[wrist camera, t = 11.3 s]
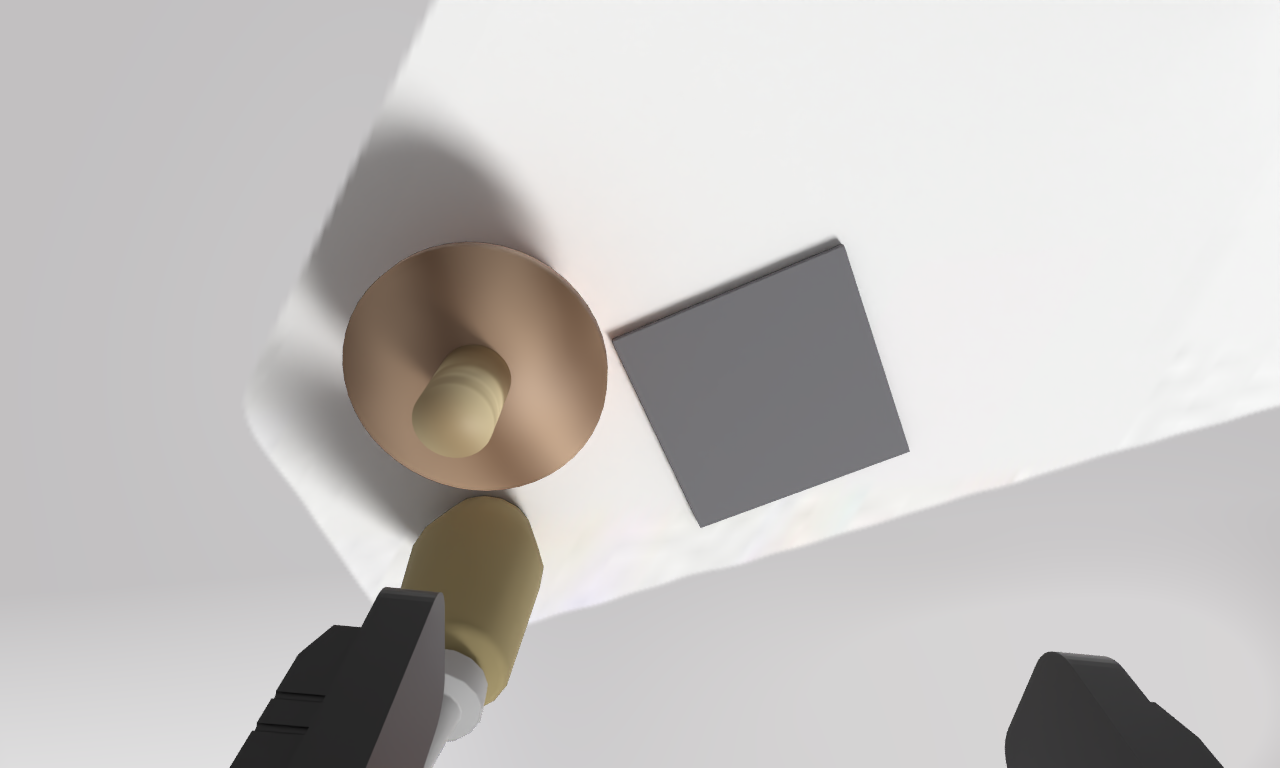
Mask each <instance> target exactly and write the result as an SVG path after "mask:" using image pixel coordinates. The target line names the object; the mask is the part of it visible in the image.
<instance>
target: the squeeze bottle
mask: <svg viewBox="0 0 1280 768" xmlns="http://www.w3.org/2000/svg"><path fill="white" fill-rule="evenodd" d="M543 568H544V567H543V563H542V560H541V556H540V553H539V549H538V546H537V543H536V540H535V537H534V534H533V532H532V529H531V526H530V523H529V520H528V519H527V518H526V516H525V515H524V514H523V513H522V512H521V510H520V509H519V508H518V507H516V506H515V505H513V504H511V503H509V502H507V501H506V500H504V499H501V498H496V497H490V496H479V497H473V498H467V499H465V500H464V501H462V502H460V503H459V504H457V505H455V506H454V507H452V508H451V509H449V510H448V511H447V512H445V513H444V514H443V515H441V516H440V517H439V518H437V519H436V520H435V521H433V522H432V523H431V524H429V525H428V526H427V527H425V529H424V530H423V532H422V533H421V535H420V536H419V538H418V539H417V541H416V542H415V544H414V545H413V548H412V551H411V555H410V558H409V561H408V565H407V568H406V572H405V575H404V579H403V582H402V586H401V589H411V590H422V591H433V592H441V593H443V595H444V601H445V684H444V694H443V701H442V707H441V712H440V716H439V721H438V725H437V728H436V731H435V735H434V738H433V741H432V744H431V747H430V750H429V753H428V756H427V759H426V762H425V765H424V768H432V767H433V765H434V764H435V762H436V760H437V758H438V756H439V755H440V753H441V751H442V749H443V747H444V746H445V744H446V742H449V741H455V740H457V739H459V738H461V737H463V736H465V735H467V734H469V733H471V732H472V731H473V729H474V728H475V727H476V726H477V724H478V723H479V722H480V719H481V715H482V711H483V707H484V706H485V705H487V704H488V703H490V702H492V701H494V700H495V699H496V698H497V697H498V695H499V694H500V693H501V692H502V690H503V689H504V688H505V687H506V686H507V683H508V680H509V677H510V674H511V671H512V668H513V665H514V662H515V659H516V656H517V653H518V650H519V647H520V644H521V642H522V639H523V636H524V633H525V630H526V627H527V624H528V621H529V618H530V615H531V612H532V609H533V606H534V603H535V600H536V597H537V594H538V591H539V588H540V583H541V578H542V573H543Z"/></svg>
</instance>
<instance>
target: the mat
mask: <svg viewBox="0 0 1280 768" xmlns="http://www.w3.org/2000/svg"><path fill="white" fill-rule="evenodd" d="M612 342H613V344H614V347H615V349H616V351H617V353H618V355H619V357H620V359H621V361H622V363H623V366H624V368H625V370H626V372H627V374H628V376H629V378H630V380H631V382H632V385H633V387H634V389H635V391H636V393H637V395H638V397H639V399H640V401H641V403H642V406H643V408H644V410H645V412H646V414H647V416H648V418H649V420H650V422H651V425H652V427H653V429H654V431H655V433H656V435H657V437H658V439H659V441H660V444H661V446H662V448H663V450H664V452H665V454H666V456H667V458H668V460H669V463H670V465H671V467H672V469H673V471H674V473H675V475H676V477H677V479H678V481H679V484H680V486H681V488H682V490H683V492H684V494H685V496H686V498H687V500H688V503H689V505H690V507H691V509H692V511H693V513H694V515H695V517H696V519H697V522H698V524H699V526H700V528H702V527H705V526H707V525H710V524H713V523H716V522H718V521H721V520H724V519H727V518H729V517H732V516H735V515H737V514H740V513H743V512H746V511H748V510H751V509H754V508H757V507H759V506H762V505H765V504H768V503H770V502H773V501H776V500H778V499H781V498H784V497H787V496H789V495H792V494H795V493H798V492H800V491H803V490H806V489H809V488H811V487H814V486H817V485H819V484H822V483H825V482H828V481H830V480H833V479H836V478H839V477H841V476H844V475H847V474H850V473H852V472H855V471H858V470H861V469H863V468H866V467H869V466H871V465H874V464H877V463H880V462H882V461H885V460H888V459H891V458H893V457H896V456H899V455H902V454H904V453H907V452H910V451H909V447H908V444H907V441H906V438H905V435H904V432H903V429H902V425H901V422H900V419H899V416H898V413H897V410H896V407H895V404H894V400H893V397H892V394H891V391H890V388H889V385H888V382H887V378H886V375H885V372H884V369H883V366H882V363H881V360H880V356H879V353H878V350H877V347H876V344H875V341H874V338H873V335H872V331H871V328H870V325H869V322H868V319H867V316H866V313H865V309H864V306H863V303H862V300H861V297H860V294H859V291H858V288H857V284H856V281H855V278H854V275H853V272H852V269H851V266H850V262H849V259H848V256H847V253H846V250H845V247H844V245H842V244H841V245H838V246H836V247H834V248H831V249H829V250H826V251H824V252H822V253H819V254H817V255H814V256H812V257H809V258H807V259H805V260H802V261H800V262H797V263H795V264H793V265H790V266H788V267H785V268H783V269H781V270H778V271H776V272H773V273H771V274H768V275H766V276H764V277H761V278H759V279H756V280H754V281H752V282H749V283H747V284H744V285H742V286H739V287H737V288H735V289H732V290H730V291H727V292H725V293H723V294H720V295H718V296H715V297H713V298H711V299H708V300H706V301H703V302H701V303H698V304H696V305H694V306H691V307H689V308H686V309H684V310H682V311H679V312H677V313H674V314H672V315H670V316H667V317H665V318H662V319H660V320H657V321H655V322H653V323H650V324H648V325H645V326H643V327H641V328H638V329H636V330H633V331H631V332H628V333H626V334H624V335H621V336H619V337H616V338H614V339H612Z"/></svg>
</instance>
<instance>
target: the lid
mask: <svg viewBox="0 0 1280 768" xmlns="http://www.w3.org/2000/svg"><path fill="white" fill-rule="evenodd" d="M607 370H608V365H607V356H606V349H605V345H604V341H603V337H602V334H601V331H600V329H599V326H598V324H597V321H596V319H595V317H594V316H593V314H592V312H591V310H590V308H589V307H588V305H587V304H586V302H585V301H584V300H583V298H582V297H581V296H580V294H579V293H578V292H577V291H576V290H575V289H574V288H573V287H572V286H571V284H570V283H569V282H568V281H567V280H566V279H564V278H563V277H562V276H561V275H559V274H558V273H557V272H556V271H554V270H553V269H552V268H550V267H549V266H547V265H546V264H544V263H542V262H541V261H539V260H537V259H536V258H533V257H531V256H529V255H527V254H525V253H522V252H520V251H517V250H514V249H511V248H508V247H504V246H500V245H495V244H489V243H480V242H459V243H448V244H444V245H439V246H434V247H431V248H428V249H425V250H423V251H420V252H417V253H415V254H413V255H411V256H409V257H407V258H406V259H404V260H402V261H400V262H399V263H398V264H396V265H395V266H394V267H392V268H391V269H390V270H388V271H387V272H386V273H384V274H383V275H382V276H381V277H379V278H378V279H377V280H376V281H375V282H374V283H373V284H372V285H371V286H370V287H369V288H368V290H367V291H366V292H365V294H364V295H363V296H362V298H361V299H360V301H359V302H358V304H357V306H356V308H355V310H354V312H353V313H352V315H351V317H350V321H349V324H348V327H347V330H346V333H345V339H344V344H343V373H344V381H345V384H346V388H347V392H348V396H349V398H350V401H351V403H352V405H353V408H354V410H355V412H356V414H357V416H358V418H359V419H360V421H361V423H362V425H363V426H364V427H365V429H366V430H367V431H368V433H369V434H370V435H371V437H372V438H373V439H374V440H375V441H376V442H377V443H378V444H379V446H380V447H381V448H382V449H383V450H384V451H385V452H387V453H388V454H389V455H390V456H391V457H393V458H394V459H395V460H396V461H398V462H399V463H401V464H402V465H404V466H405V467H407V468H408V469H410V470H411V471H413V472H415V473H417V474H419V475H421V476H423V477H425V478H427V479H430V480H433V481H435V482H438V483H441V484H444V485H448V486H452V487H456V488H462V489H469V490H484V491H491V490H504V489H509V488H515V487H520V486H523V485H526V484H529V483H532V482H535V481H537V480H540V479H542V478H544V477H546V476H548V475H550V474H552V473H553V472H555V471H556V470H558V469H559V468H561V467H562V466H564V465H565V464H566V463H567V462H568V461H570V460H571V459H572V458H573V457H574V456H575V455H576V454H577V453H578V452H579V451H580V450H581V449H582V448H583V446H584V445H585V444H586V442H587V441H588V439H589V438H590V436H591V435H592V433H593V431H594V429H595V427H596V425H597V423H598V421H599V419H600V416H601V413H602V410H603V407H604V402H605V396H606V390H607Z"/></svg>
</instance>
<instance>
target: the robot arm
mask: <svg viewBox="0 0 1280 768" xmlns="http://www.w3.org/2000/svg"><path fill="white" fill-rule="evenodd" d="M444 684H445V601H444V595H443V593H441V592H433V591H422V590H411V589H401V588H390V587H385V588H383V589H382V590H381V592H380V593H379V594H378V596H377V598H376V600H375V602H374V604H373V606H372V608H371V610H370V611H369V613H368V615H367V617H366V619H365V621H364V623H363V625H362V627H351V626H340V625H333V626H332V627H331V628H330V629H328V630H327V631H326V632H325V633H324V634H322V635H321V636H320V637H319V638H318V639H316V640H315V641H314V642H313V643H311V644H310V645H309V646H308V647H307V648H305V649H304V650H303V651H302V652H301V653H299V654H298V656H297V657H296V659H295V661H294V663H293V664H292V666H291V667H290V669H289V671H288V672H287V674H286V676H285V677H284V679H283V681H282V682H281V684H280V686H279V687H278V689H277V690H276V696H275V698H274V699H271V700H270V702H269V704H268V705H267V707H266V709H265V710H264V712H263V714H262V716H261V717H260V718H259V720H258V722H257V727H256V729H255V731H252V732H251V733H250V735H249V737H248V739H247V740H246V742H245V743H244V745H243V747H242V748H241V750H240V752H239V753H238V755H237V756H236V758H235V760H234V761H233V763H232V765H231V766H230V768H424V765H425V762H426V759H427V756H428V753H429V750H430V747H431V744H432V741H433V738H434V735H435V731H436V728H437V725H438V721H439V716H440V712H441V707H442V701H443V694H444ZM1005 756H1006V763H1007V768H1224V767H1223V766H1222V765H1221V764H1220V763H1219V761H1218V760H1217V759H1216V758H1215V757H1214V756H1213V754H1212V753H1211V752H1210V751H1209V750H1208V748H1207V747H1206V746H1205V745H1204V743H1203V742H1202V741H1201V740H1200V739H1199V738H1198V737H1197V736H1196V735H1195V734H1193V733H1192V732H1191V731H1190V730H1188V729H1187V728H1186V727H1185V726H1183V725H1182V724H1181V723H1180V722H1179V721H1177V720H1176V719H1175V718H1174V717H1172V716H1171V715H1170V714H1169V713H1167V712H1166V711H1165V710H1164V709H1163V708H1161V707H1160V706H1159V705H1158V704H1156V703H1155V702H1150V701H1149V700H1148V699H1147V697H1146V696H1145V695H1144V694H1143V692H1142V691H1141V690H1140V689H1139V687H1138V686H1137V685H1136V684H1135V682H1134V681H1133V680H1132V679H1131V678H1130V676H1129V675H1128V674H1127V672H1126V671H1125V670H1124V669H1123V668H1122V667H1121V665H1120V664H1119V663H1117V662H1116V661H1115V660H1113V659H1111V658H1108V657H1105V656H1093V655H1084V654H1073V653H1062V652H1047V653H1045V654H1044V655H1043V656H1041V657H1040V659H1039V660H1038V662H1037V664H1036V667H1035V669H1034V671H1033V673H1032V675H1031V678H1030V680H1029V683H1028V685H1027V687H1026V689H1025V692H1024V694H1023V696H1022V699H1021V701H1020V703H1019V705H1018V708H1017V710H1016V712H1015V715H1014V717H1013V719H1012V722H1011V724H1010V726H1009V728H1008V731H1007V735H1006V740H1005Z"/></svg>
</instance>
